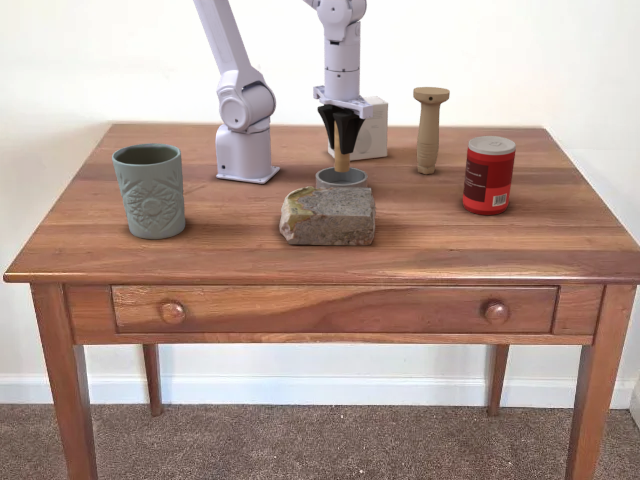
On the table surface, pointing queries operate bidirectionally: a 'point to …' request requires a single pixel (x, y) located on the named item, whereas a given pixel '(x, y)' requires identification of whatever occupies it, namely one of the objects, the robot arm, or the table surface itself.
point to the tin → (341, 178)
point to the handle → (429, 126)
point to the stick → (340, 160)
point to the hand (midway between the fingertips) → (341, 150)
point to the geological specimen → (328, 216)
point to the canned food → (488, 174)
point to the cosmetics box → (371, 133)
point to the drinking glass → (151, 189)
